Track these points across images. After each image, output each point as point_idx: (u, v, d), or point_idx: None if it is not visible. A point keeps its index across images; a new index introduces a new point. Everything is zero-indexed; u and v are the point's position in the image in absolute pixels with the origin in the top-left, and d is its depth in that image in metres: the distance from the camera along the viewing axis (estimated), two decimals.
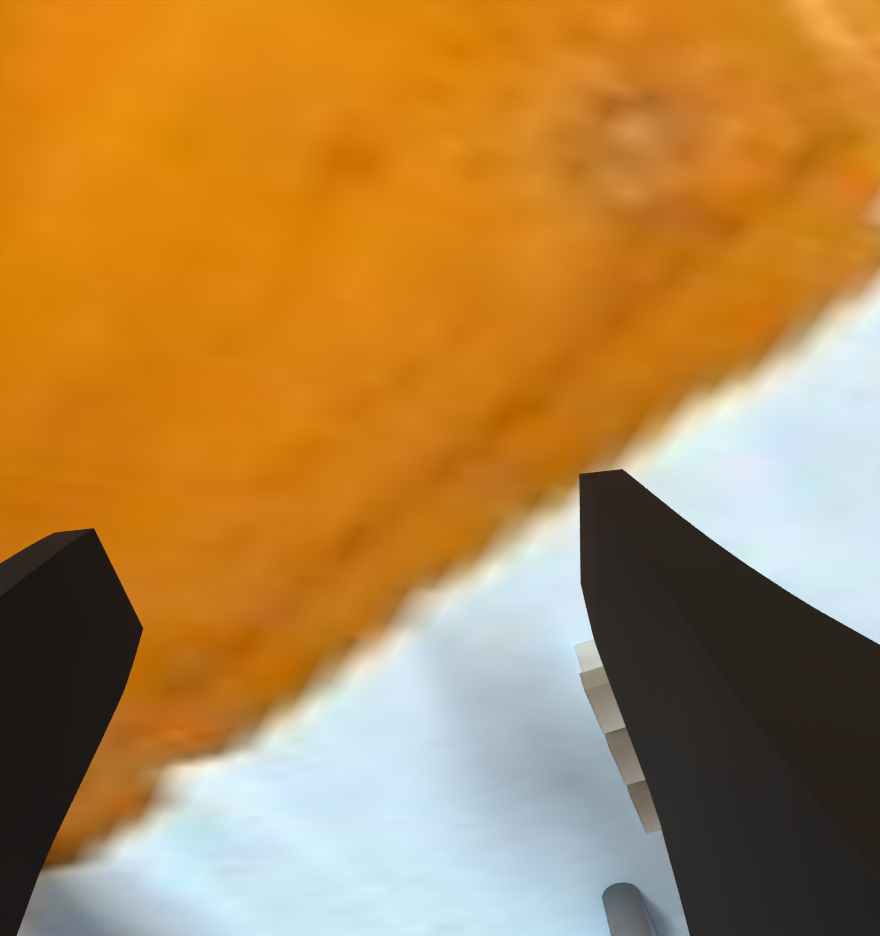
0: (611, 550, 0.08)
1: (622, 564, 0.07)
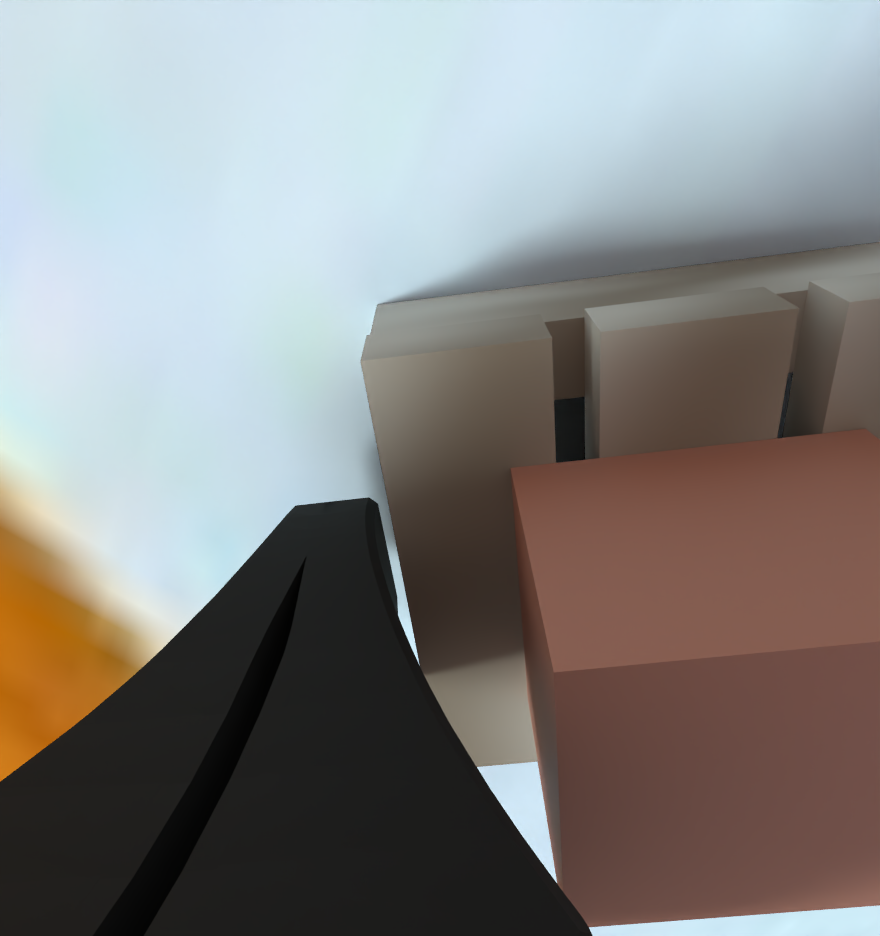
0: None
1: None
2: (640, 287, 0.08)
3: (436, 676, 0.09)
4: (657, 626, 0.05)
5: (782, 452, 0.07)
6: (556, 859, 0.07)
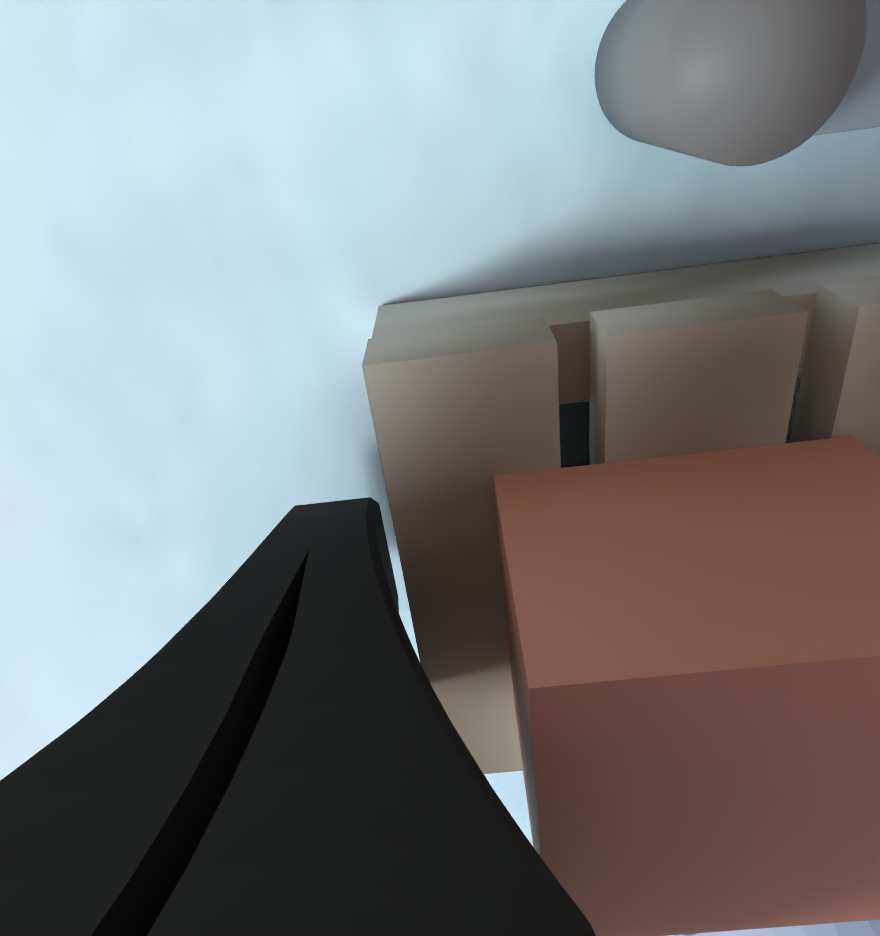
0: None
1: None
2: (645, 290, 0.08)
3: (439, 683, 0.09)
4: (636, 640, 0.05)
5: (768, 460, 0.07)
6: None
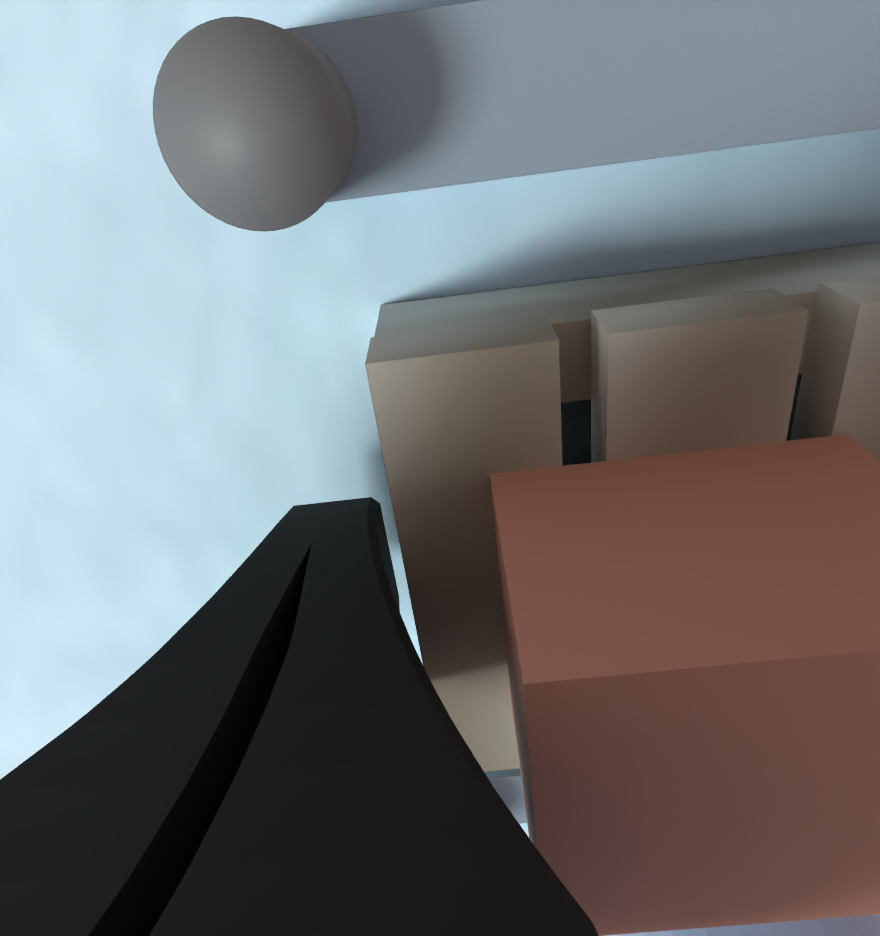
0: None
1: None
2: (647, 288, 0.08)
3: (440, 681, 0.09)
4: (629, 636, 0.05)
5: (762, 458, 0.07)
6: None
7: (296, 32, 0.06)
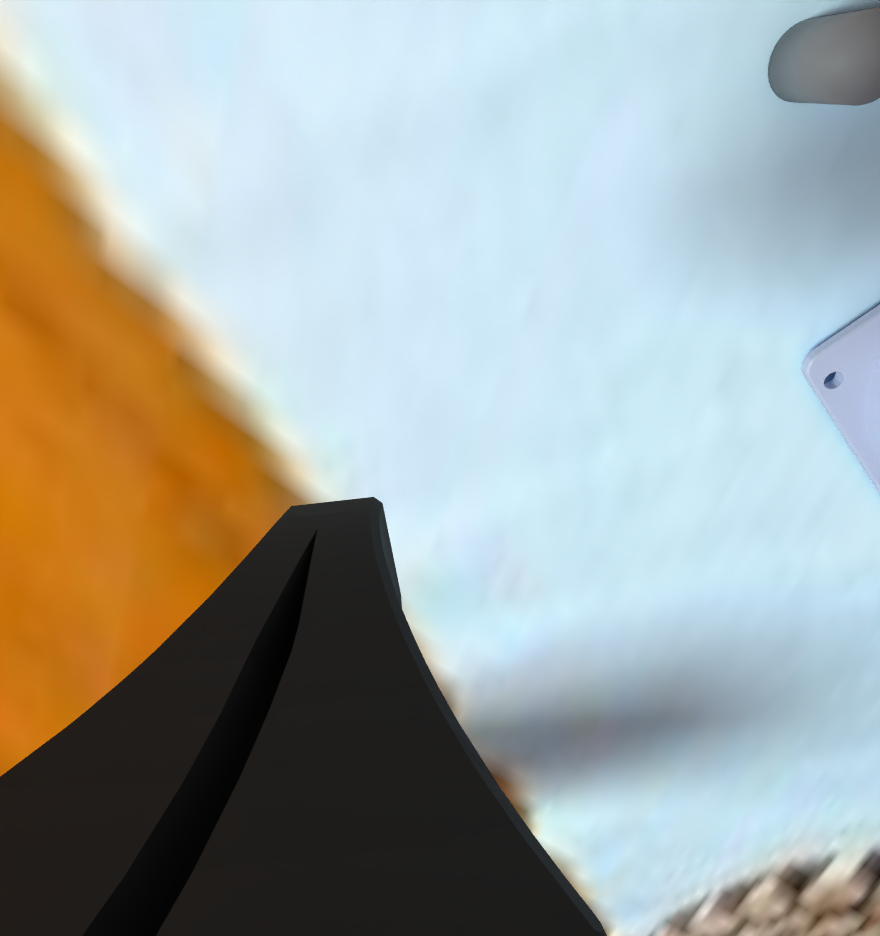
0: None
1: None
2: None
3: None
4: None
5: None
6: None
7: None
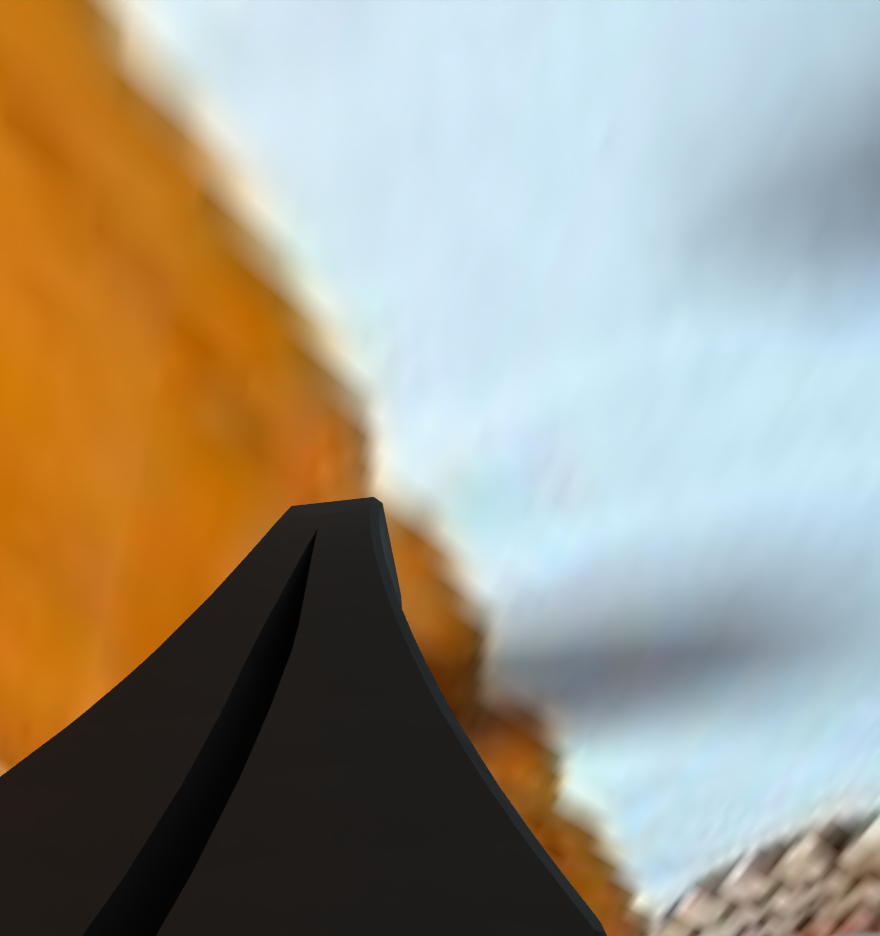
0: None
1: None
2: None
3: None
4: None
5: None
6: None
7: None
